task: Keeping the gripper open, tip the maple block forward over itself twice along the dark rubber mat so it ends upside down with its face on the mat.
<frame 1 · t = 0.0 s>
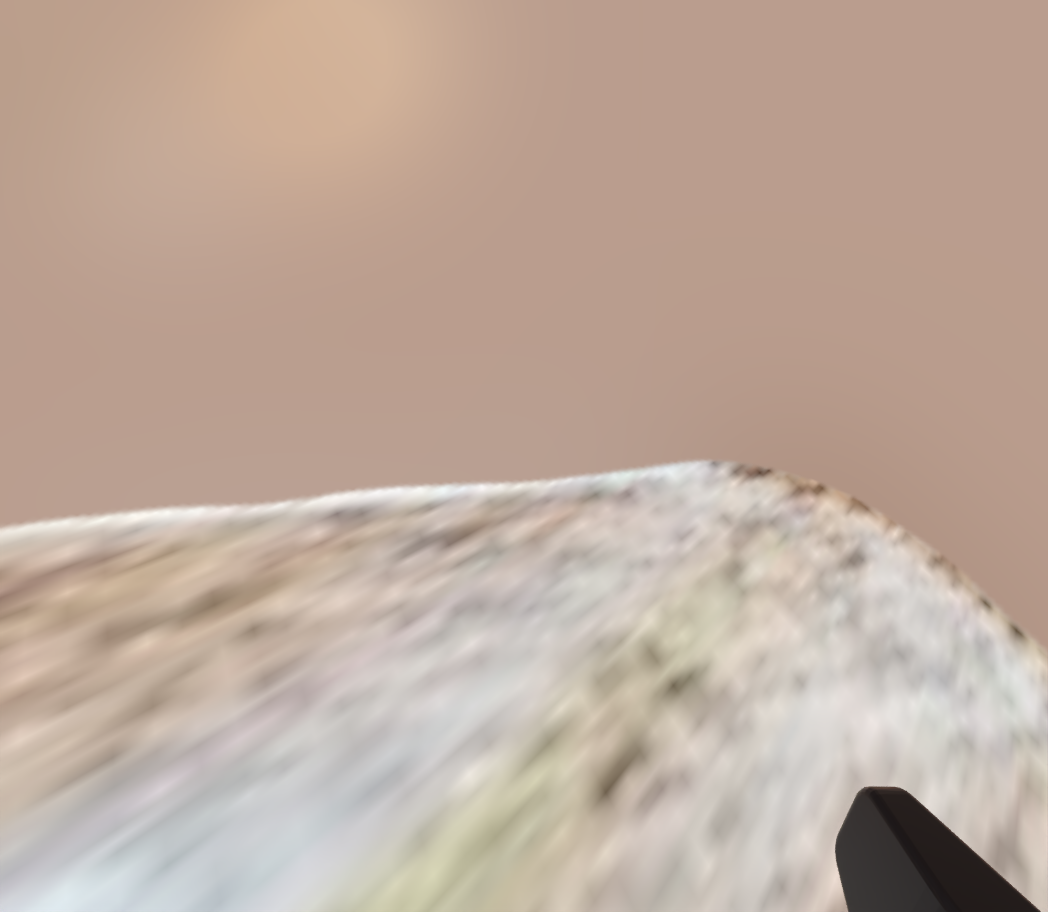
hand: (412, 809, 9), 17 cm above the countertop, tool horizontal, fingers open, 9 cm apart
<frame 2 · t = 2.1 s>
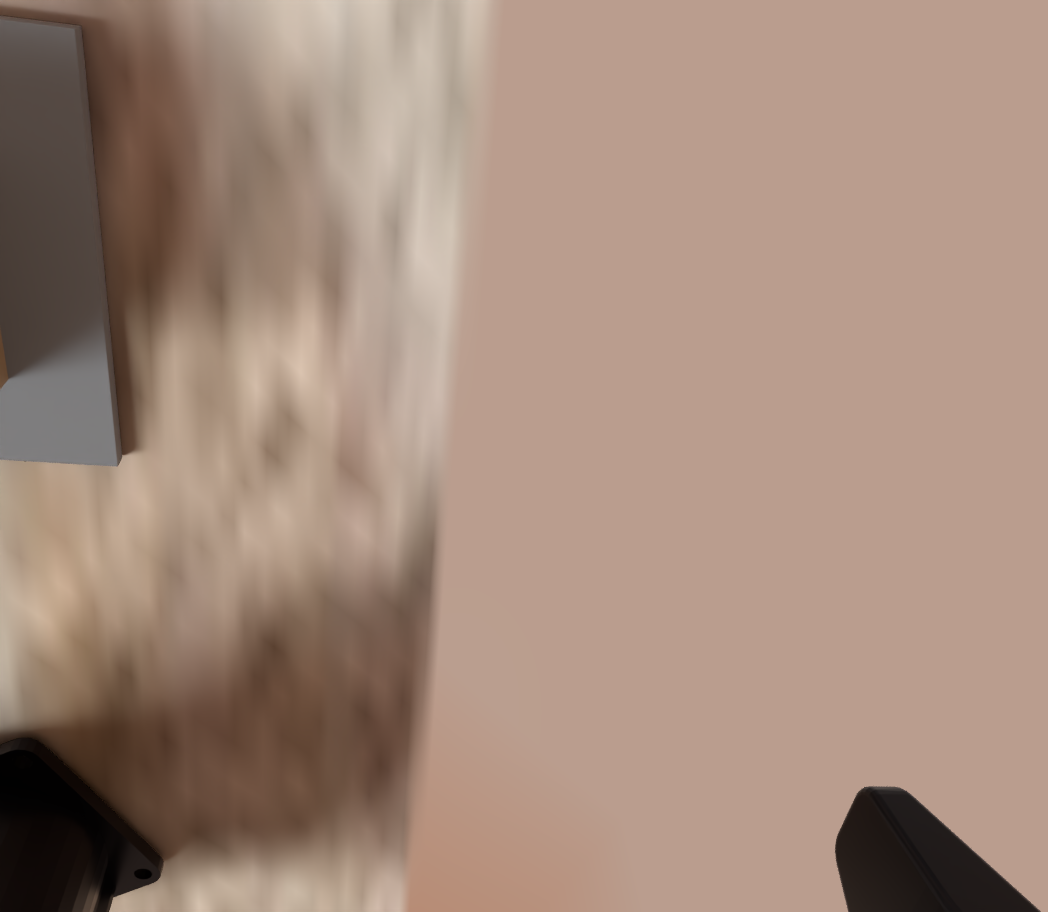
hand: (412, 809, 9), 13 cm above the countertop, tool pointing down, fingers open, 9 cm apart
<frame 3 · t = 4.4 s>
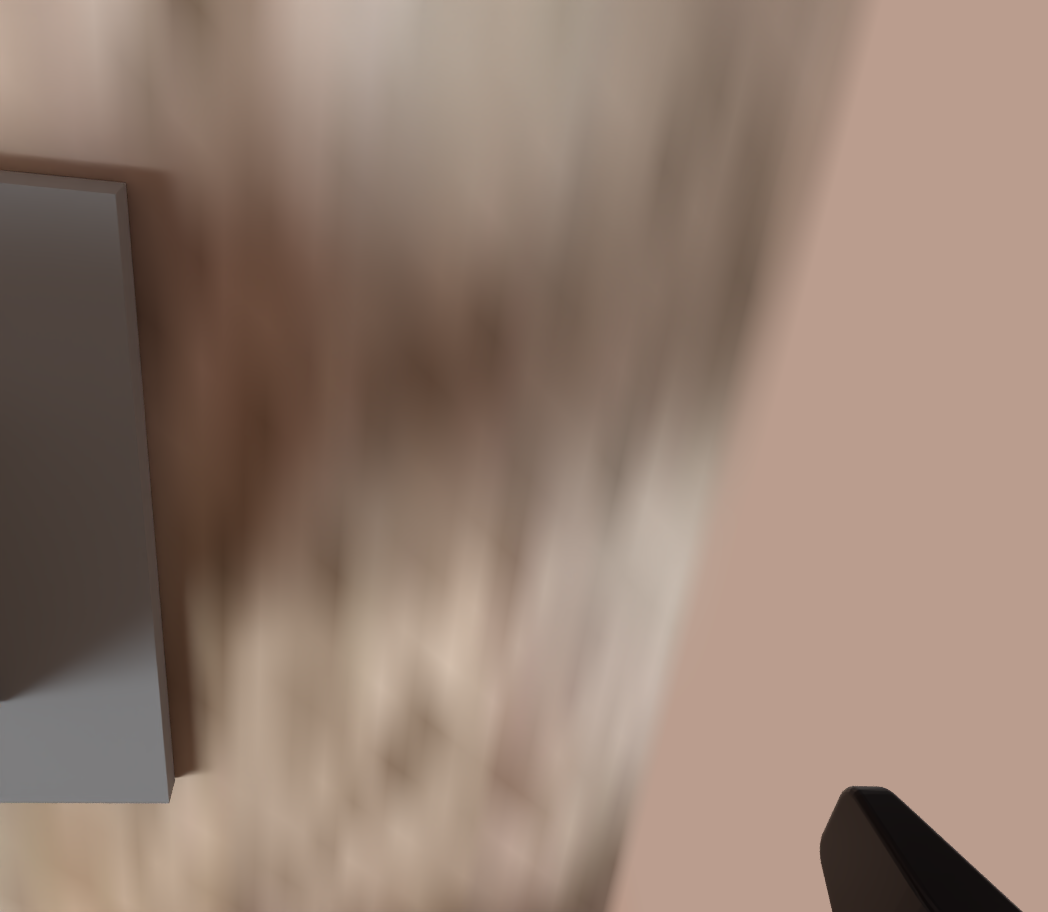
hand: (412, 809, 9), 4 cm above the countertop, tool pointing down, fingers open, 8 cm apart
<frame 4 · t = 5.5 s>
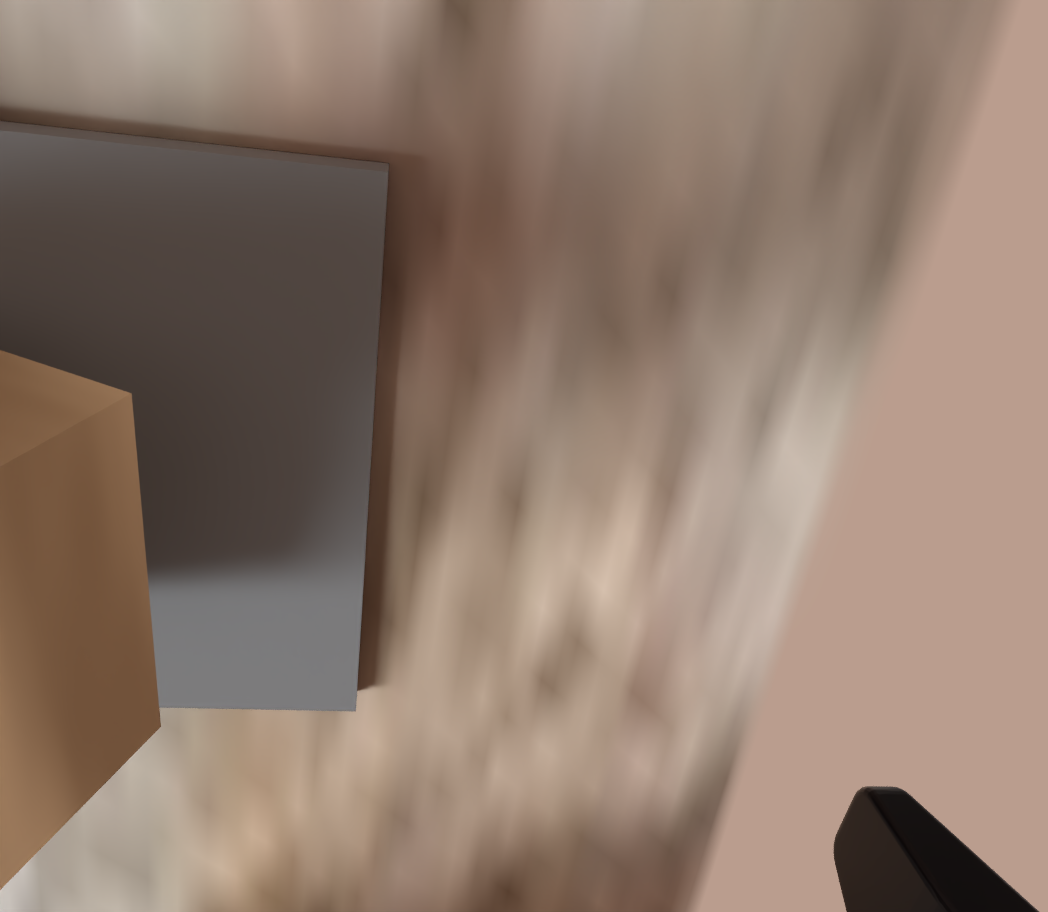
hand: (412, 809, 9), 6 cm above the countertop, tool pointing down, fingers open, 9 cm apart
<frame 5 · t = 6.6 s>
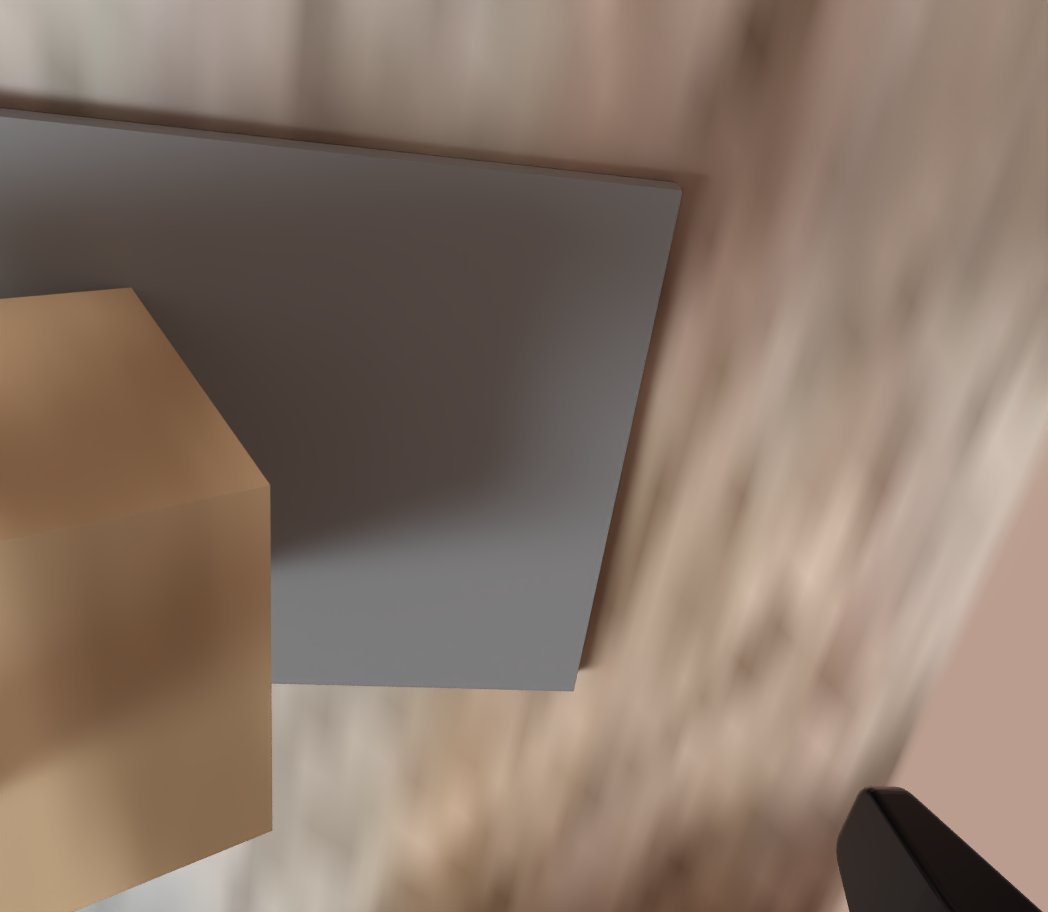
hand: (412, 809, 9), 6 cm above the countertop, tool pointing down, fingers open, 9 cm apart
block: (199, 549, 12), point 3 cm above the countertop, tilted 62°, touching gripper, mat
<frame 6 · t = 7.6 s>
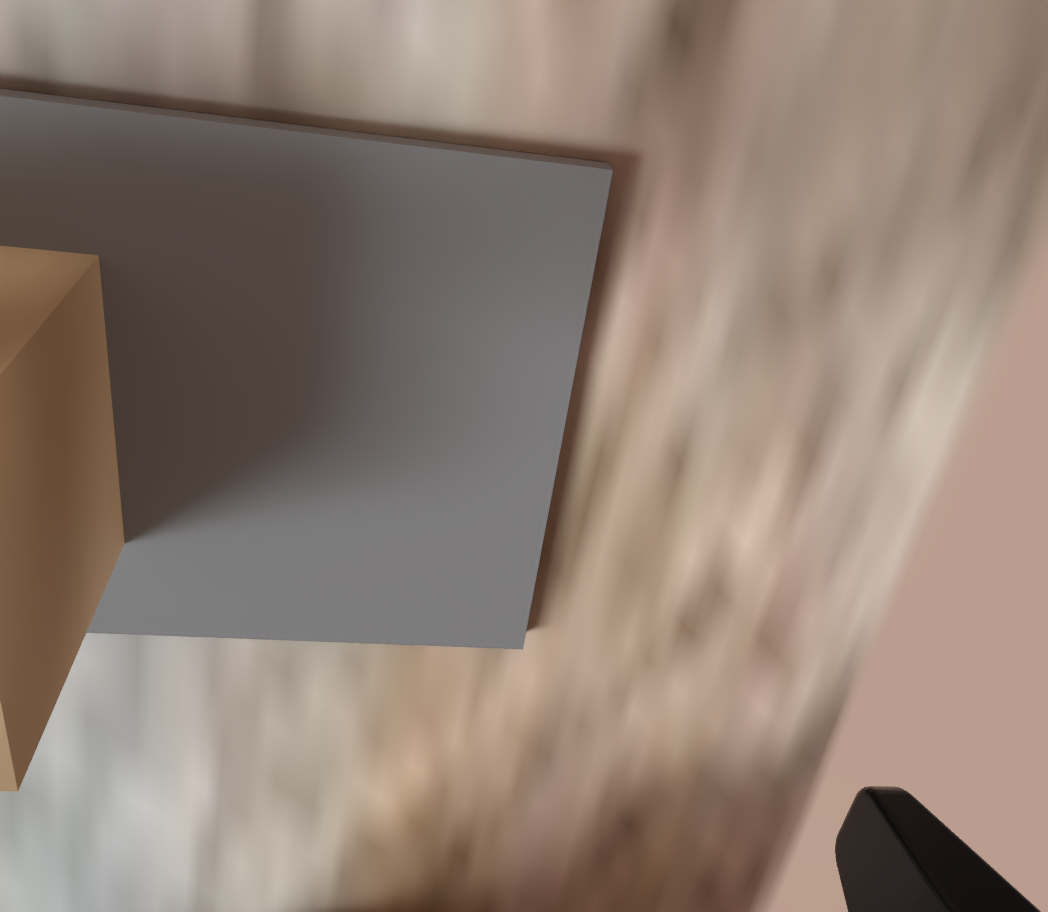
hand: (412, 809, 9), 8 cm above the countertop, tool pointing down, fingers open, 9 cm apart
block: (61, 504, 12), point 3 cm above the countertop, tilted 90°, touching mat
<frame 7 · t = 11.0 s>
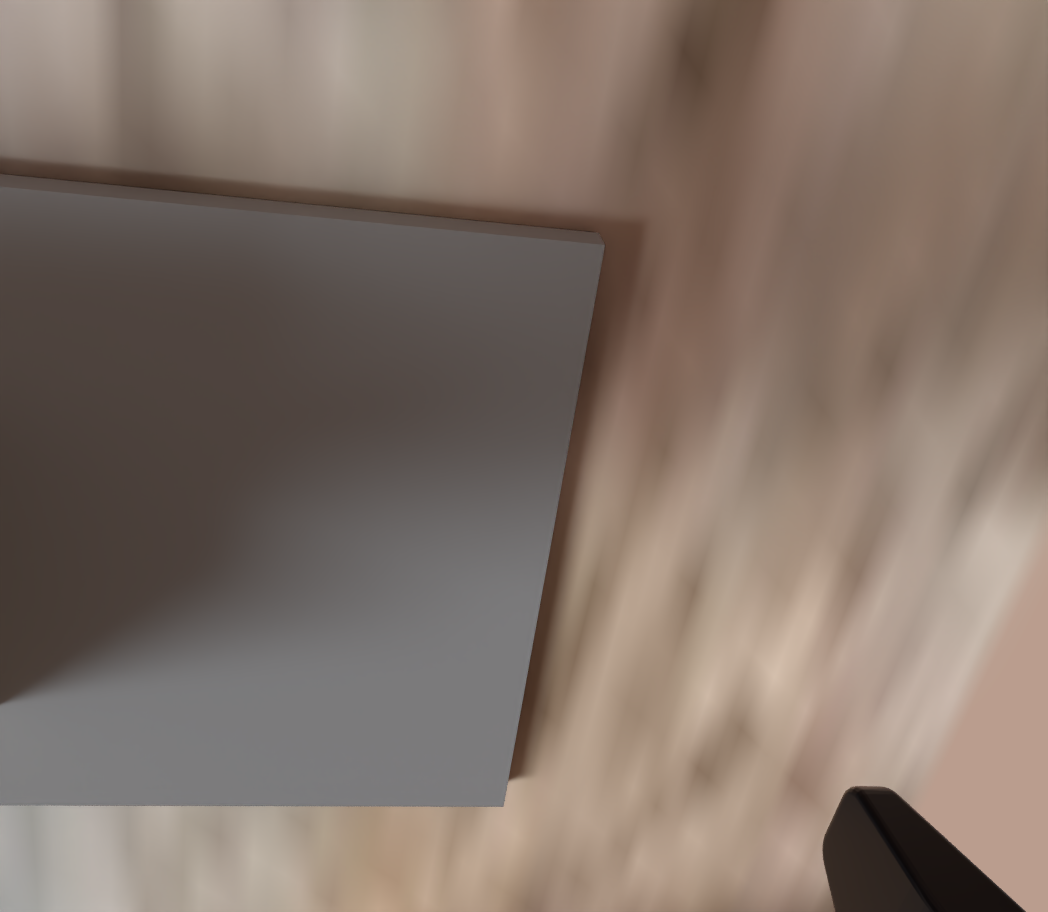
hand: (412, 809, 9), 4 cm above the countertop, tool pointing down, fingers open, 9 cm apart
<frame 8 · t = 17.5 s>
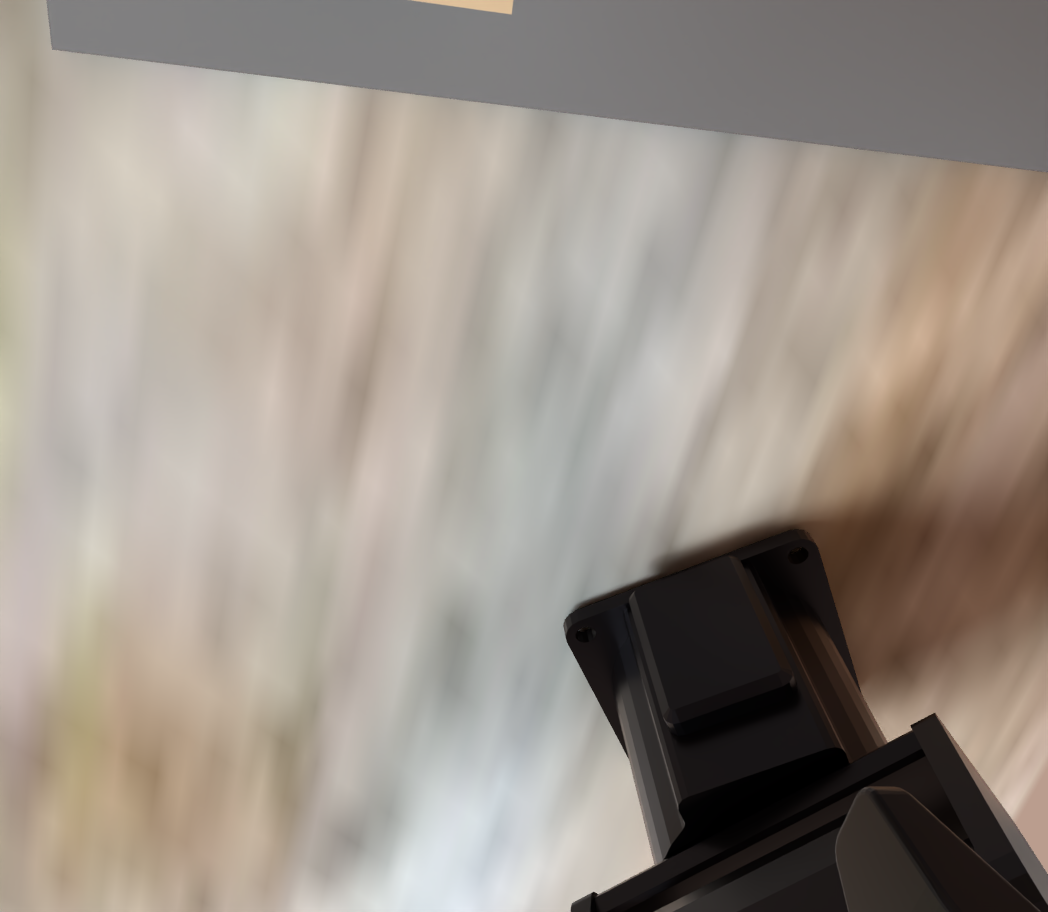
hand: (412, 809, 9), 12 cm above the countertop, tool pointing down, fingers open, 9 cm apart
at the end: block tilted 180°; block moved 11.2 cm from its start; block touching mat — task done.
